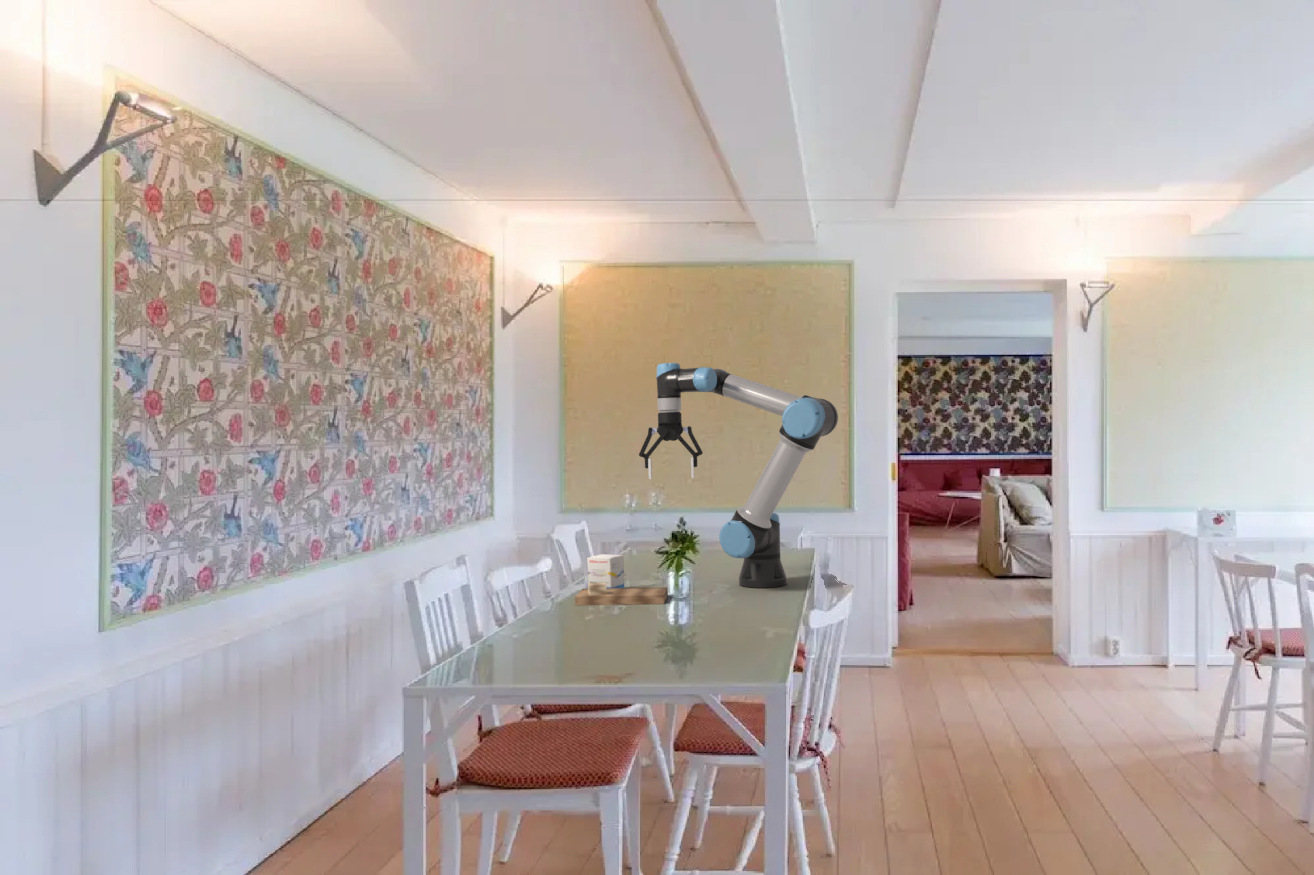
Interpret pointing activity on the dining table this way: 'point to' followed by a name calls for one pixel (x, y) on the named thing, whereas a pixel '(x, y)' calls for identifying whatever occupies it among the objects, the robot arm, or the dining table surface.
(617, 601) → the board
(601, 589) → the beech offcut
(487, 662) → the dining table surface
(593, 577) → the ink box
